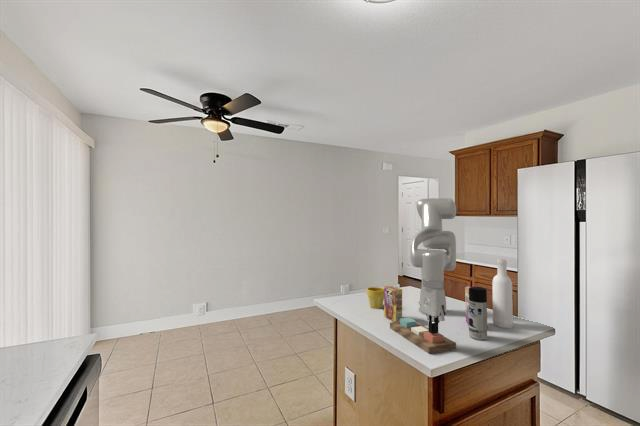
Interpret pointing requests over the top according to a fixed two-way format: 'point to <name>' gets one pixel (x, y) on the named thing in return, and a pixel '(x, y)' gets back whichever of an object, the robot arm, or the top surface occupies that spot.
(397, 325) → the control board
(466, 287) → the candy bar box
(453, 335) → the top surface
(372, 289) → the plant pot
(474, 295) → the spray can
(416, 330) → the cream button
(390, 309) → the candy box
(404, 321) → the teal button
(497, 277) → the bottle
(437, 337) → the brick red button
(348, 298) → the top surface
